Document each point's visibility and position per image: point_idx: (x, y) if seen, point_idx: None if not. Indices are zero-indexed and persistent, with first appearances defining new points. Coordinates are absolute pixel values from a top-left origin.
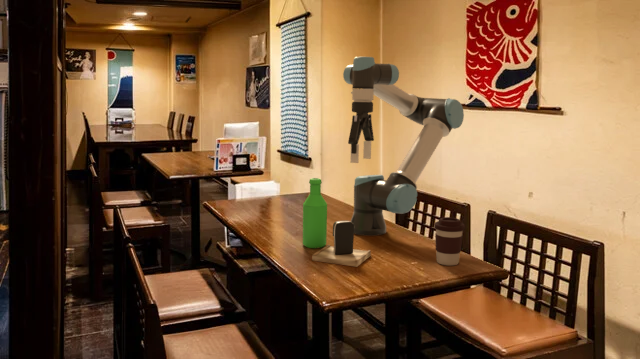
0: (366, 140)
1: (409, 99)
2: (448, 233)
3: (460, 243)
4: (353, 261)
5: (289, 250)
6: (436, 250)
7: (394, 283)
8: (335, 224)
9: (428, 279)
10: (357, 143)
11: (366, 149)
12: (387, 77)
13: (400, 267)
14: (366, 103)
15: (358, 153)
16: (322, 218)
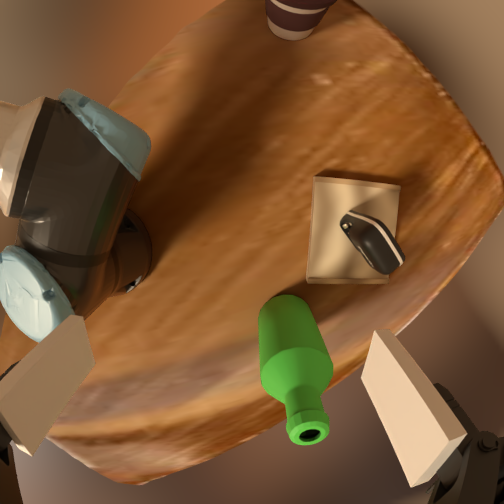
0: (7, 438)
1: None
2: None
3: None
4: (397, 194)
5: (334, 342)
6: (308, 29)
7: (441, 109)
8: (400, 265)
9: (401, 56)
10: (485, 436)
11: (55, 387)
12: None
13: (364, 101)
14: None
15: (412, 375)
16: (311, 330)
